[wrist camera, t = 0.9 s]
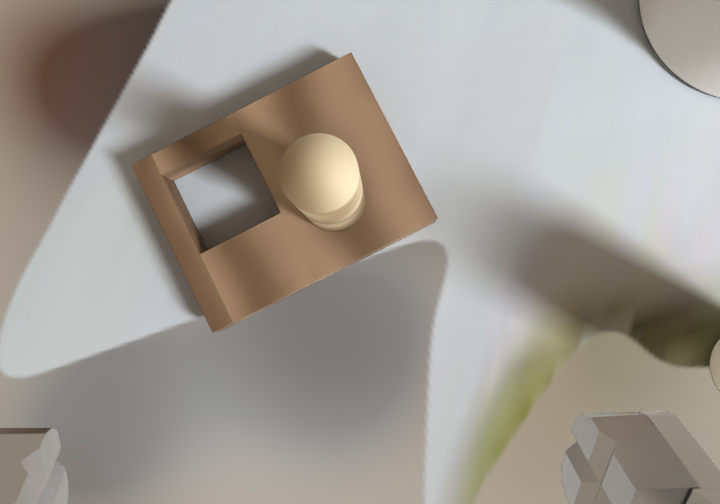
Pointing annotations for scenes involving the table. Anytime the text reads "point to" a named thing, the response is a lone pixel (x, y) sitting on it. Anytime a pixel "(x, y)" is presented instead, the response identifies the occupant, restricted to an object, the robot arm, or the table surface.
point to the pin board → (291, 227)
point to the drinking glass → (715, 364)
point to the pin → (323, 181)
